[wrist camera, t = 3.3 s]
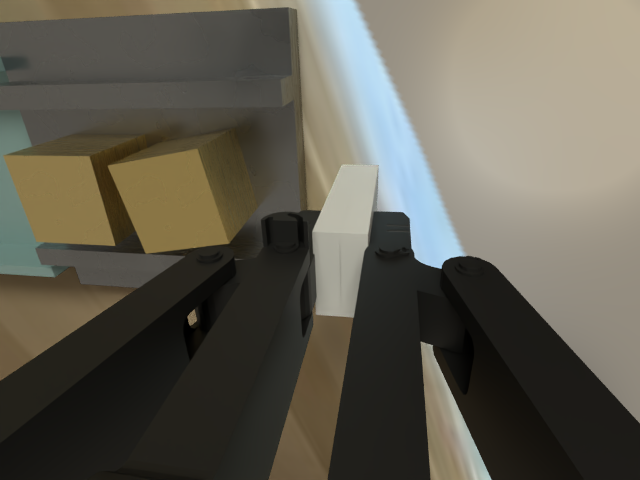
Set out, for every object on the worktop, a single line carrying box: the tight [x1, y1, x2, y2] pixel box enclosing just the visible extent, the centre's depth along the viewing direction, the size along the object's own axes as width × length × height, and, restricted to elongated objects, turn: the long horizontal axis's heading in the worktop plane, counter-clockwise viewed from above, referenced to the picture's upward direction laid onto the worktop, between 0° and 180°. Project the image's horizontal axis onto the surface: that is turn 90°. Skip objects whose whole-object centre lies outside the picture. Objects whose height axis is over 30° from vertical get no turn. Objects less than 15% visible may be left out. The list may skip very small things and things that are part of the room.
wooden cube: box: [108, 128, 258, 254], centre depth 18 cm, size 4×4×4 cm
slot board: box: [0, 7, 307, 288], centre depth 20 cm, size 14×14×4 cm
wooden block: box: [3, 134, 148, 246], centre depth 19 cm, size 4×4×4 cm
